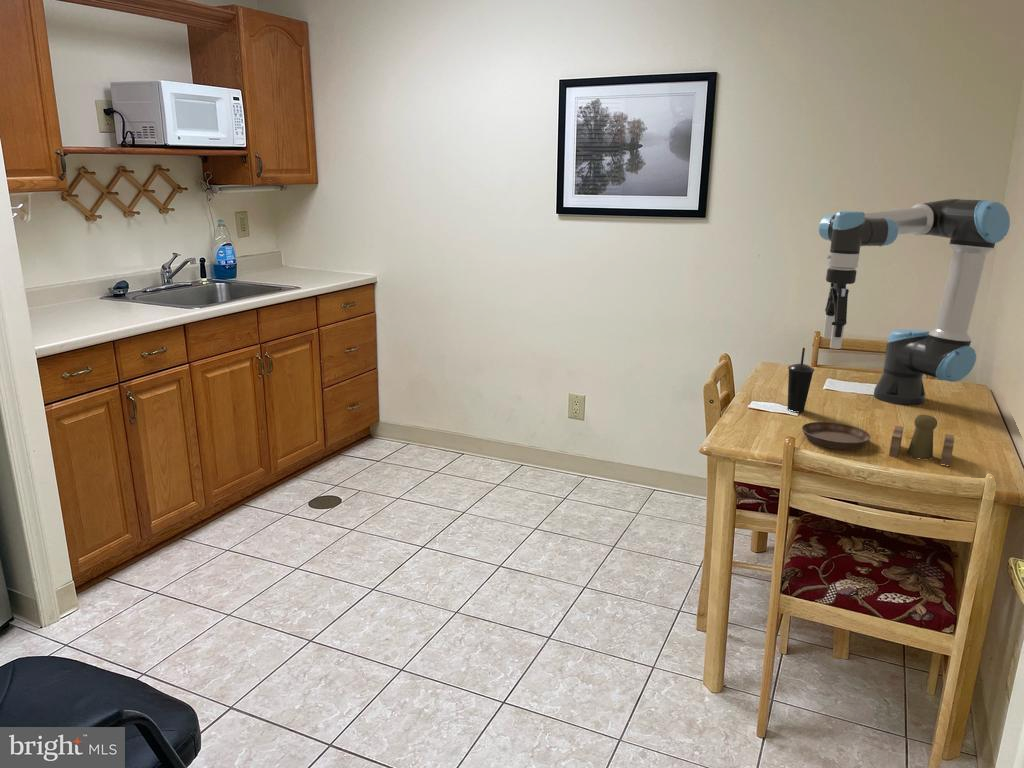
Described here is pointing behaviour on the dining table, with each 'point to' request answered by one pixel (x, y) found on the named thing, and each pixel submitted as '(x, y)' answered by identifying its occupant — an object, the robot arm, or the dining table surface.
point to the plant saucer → (835, 435)
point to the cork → (923, 437)
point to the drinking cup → (799, 384)
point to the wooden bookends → (945, 452)
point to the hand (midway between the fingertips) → (831, 343)
